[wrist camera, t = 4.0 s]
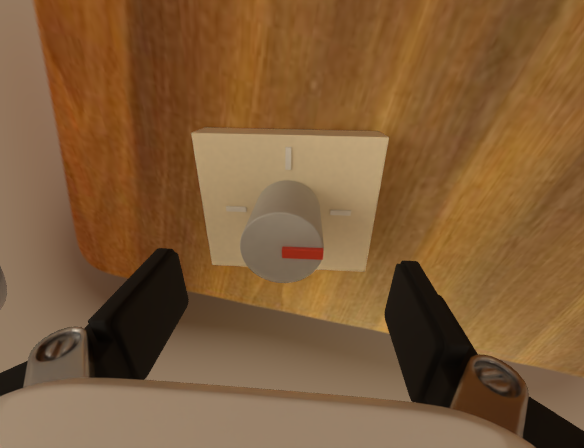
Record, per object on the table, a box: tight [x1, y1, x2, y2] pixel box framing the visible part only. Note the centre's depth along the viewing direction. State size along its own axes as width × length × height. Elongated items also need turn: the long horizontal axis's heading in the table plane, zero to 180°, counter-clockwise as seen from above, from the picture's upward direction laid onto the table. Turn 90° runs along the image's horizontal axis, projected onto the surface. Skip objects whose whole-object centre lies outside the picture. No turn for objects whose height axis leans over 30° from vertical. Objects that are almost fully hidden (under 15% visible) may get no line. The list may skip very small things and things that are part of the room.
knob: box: [240, 180, 324, 283], centre depth 16 cm, size 4×4×5 cm
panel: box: [191, 127, 389, 272], centre depth 19 cm, size 12×10×3 cm
